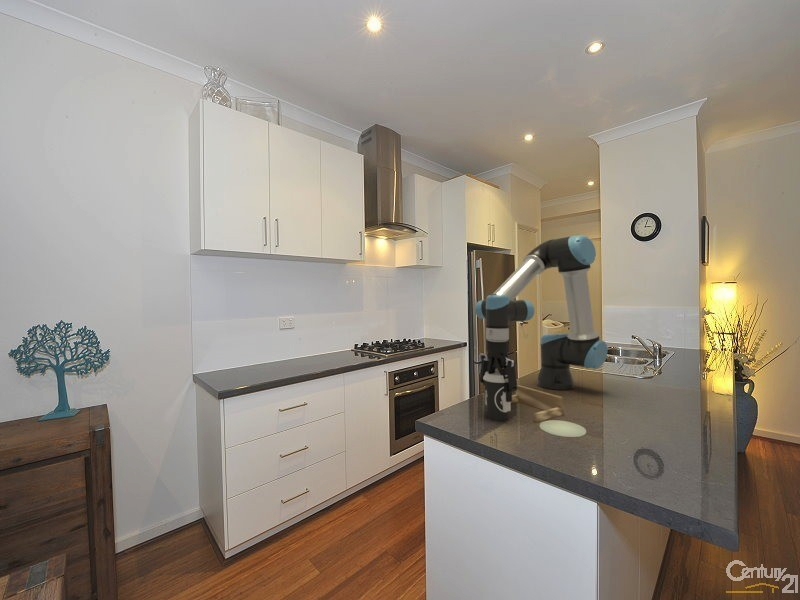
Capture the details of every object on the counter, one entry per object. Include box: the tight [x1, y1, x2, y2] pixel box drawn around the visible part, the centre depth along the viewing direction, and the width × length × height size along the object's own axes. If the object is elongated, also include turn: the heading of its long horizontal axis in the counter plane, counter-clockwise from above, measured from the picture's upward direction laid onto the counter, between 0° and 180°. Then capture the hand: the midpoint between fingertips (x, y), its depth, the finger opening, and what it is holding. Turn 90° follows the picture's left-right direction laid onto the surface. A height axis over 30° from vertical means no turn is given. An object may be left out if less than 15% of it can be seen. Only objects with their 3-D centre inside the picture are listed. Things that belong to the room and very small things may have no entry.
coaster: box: [539, 419, 587, 438], centre depth 107 cm, size 13×13×1 cm
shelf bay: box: [511, 384, 564, 423], centre depth 124 cm, size 14×19×6 cm
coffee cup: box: [483, 370, 509, 421], centre depth 117 cm, size 10×10×15 cm
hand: (497, 407), depth 117 cm, fingers closed on coffee cup, 7 cm apart
